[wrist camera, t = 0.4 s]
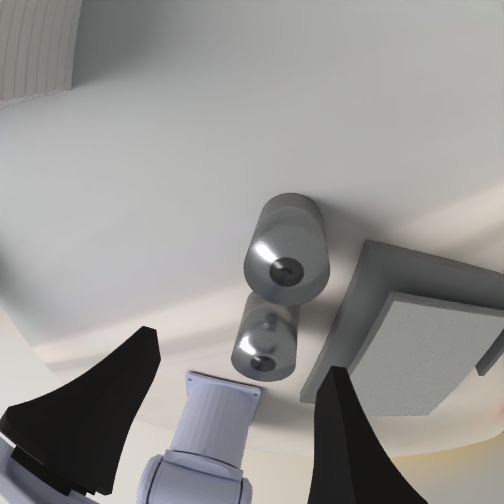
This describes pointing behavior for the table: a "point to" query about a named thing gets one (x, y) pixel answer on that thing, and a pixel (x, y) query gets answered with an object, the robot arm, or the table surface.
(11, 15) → the light grey rectangular block
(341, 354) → the scale
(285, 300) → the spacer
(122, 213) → the table surface
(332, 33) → the table surface
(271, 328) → the spacer
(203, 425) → the robot arm
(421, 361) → the pan
